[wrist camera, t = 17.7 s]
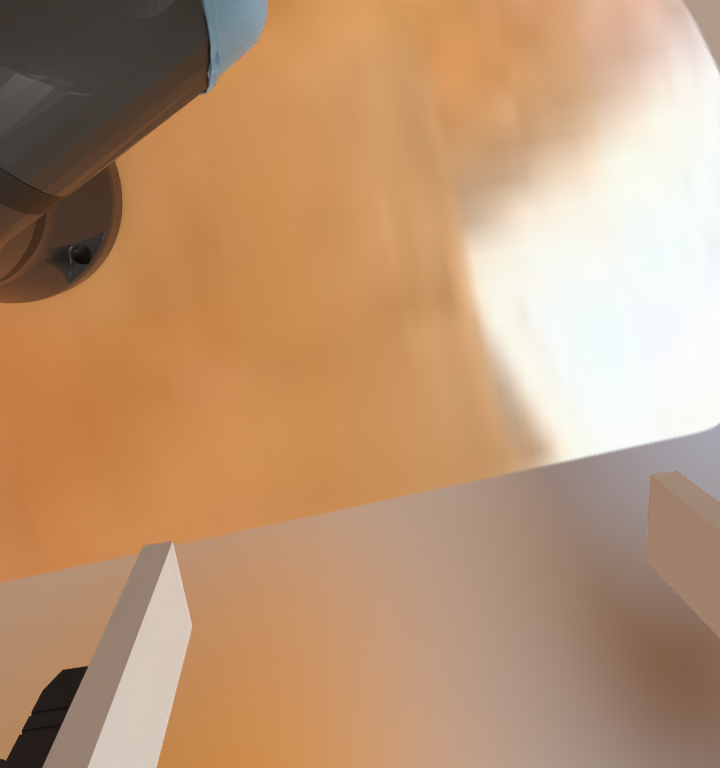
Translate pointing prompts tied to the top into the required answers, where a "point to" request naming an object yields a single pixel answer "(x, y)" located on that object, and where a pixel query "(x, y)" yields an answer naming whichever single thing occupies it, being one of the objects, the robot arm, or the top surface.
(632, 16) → the top surface
